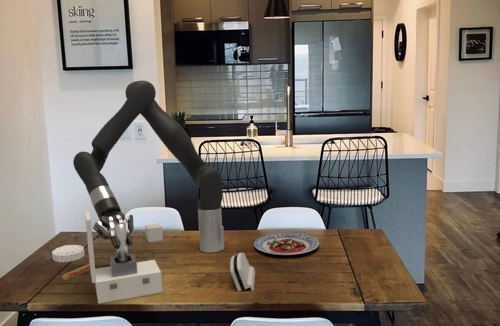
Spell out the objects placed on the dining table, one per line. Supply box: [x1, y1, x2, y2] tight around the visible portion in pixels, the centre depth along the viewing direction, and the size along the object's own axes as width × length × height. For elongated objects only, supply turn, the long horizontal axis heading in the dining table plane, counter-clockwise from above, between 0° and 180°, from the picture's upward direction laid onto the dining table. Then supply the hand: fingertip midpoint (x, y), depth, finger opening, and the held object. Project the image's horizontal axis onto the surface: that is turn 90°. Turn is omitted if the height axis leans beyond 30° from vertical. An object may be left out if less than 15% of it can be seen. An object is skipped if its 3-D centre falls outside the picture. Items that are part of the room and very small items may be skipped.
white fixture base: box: [84, 210, 163, 304], centre depth 162 cm, size 21×13×27 cm, turn 110°
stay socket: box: [109, 253, 137, 277], centre depth 163 cm, size 8×8×4 cm
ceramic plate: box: [253, 232, 320, 256], centre depth 201 cm, size 26×26×3 cm
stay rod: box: [114, 221, 129, 262], centre depth 162 cm, size 4×4×12 cm
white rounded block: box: [229, 252, 256, 292], centre depth 170 cm, size 17×5×10 cm, turn 177°
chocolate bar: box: [61, 263, 90, 281], centre depth 181 cm, size 3×12×2 cm, turn 148°
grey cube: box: [144, 223, 164, 243], centre depth 217 cm, size 6×6×6 cm
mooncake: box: [51, 244, 85, 263], centre depth 199 cm, size 12×12×4 cm
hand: (124, 246), depth 161 cm, fingers closed on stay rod, 3 cm apart
